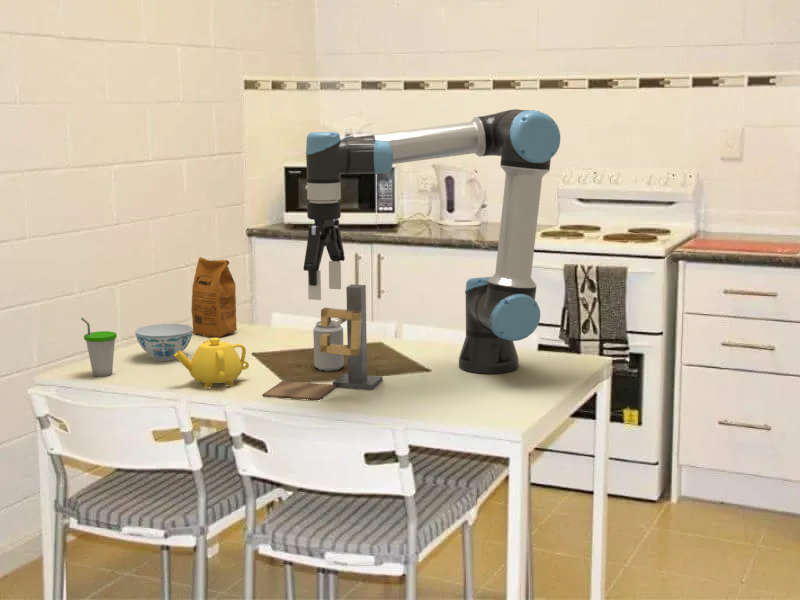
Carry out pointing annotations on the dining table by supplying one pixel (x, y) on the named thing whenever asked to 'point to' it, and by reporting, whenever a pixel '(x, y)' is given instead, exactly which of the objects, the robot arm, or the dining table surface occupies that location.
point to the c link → (355, 331)
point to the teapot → (215, 362)
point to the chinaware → (164, 339)
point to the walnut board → (299, 390)
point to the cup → (100, 351)
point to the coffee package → (213, 299)
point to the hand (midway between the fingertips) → (325, 294)
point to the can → (336, 337)
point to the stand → (358, 364)
